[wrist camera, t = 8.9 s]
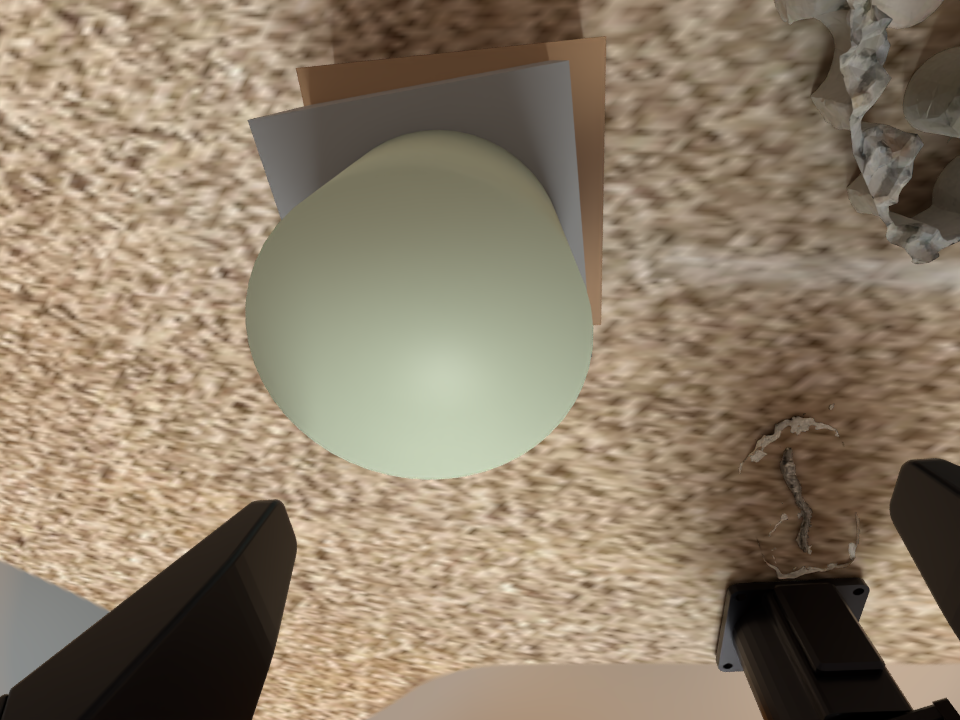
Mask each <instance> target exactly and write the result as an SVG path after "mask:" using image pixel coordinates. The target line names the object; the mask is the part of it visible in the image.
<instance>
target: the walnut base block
mask: <svg viewBox="0 0 960 720" xmlns="http://www.w3.org/2000/svg"><path fill="white" fill-rule="evenodd" d="M549 60H569V66H570V79H571V92H572V105H573V117H574V130H575V143H576V156H577V169H578V182H579V195H580V208H581V221H582V234H583V246H584V259H585V272H586V285H587V294H588V298H589V302H590V305H591V312H592V321H593V325H601V297H602V240H603V184H604V127H605V71H606V36H603V37H593V38H584V39H574V40H564V41H555V42H545V43H535V44H525V45H516V46H506V47H496V48H487V49H477V50H467V51H458V52H448V53H438V54H428V55H419V56H409V57H399V58H390V59H380V60H370V61H361V62H351V63H341V64H331V65H322V66H312V67H302V68H296V71H297V76H298V80H299V85H300V89H301V94H302V98H303V103H304V106H308V105H313V104H318V103H323V102H329V101H334V100H340V99H345V98H350V97H356V96H361V95H366V94H372V93H377V92H382V91H388V90H393V89H398V88H404V87H409V86H415V85H420V84H425V83H431V82H436V81H441V80H447V79H452V78H457V77H463V76H468V75H474V74H479V73H484V72H490V71H495V70H500V69H506V68H511V67H516V66H522V65H527V64H532V63H538V62H543V61H549Z"/></svg>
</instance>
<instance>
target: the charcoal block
mask: <svg viewBox="0 0 960 720" xmlns="http://www.w3.org/2000/svg"><path fill="white" fill-rule="evenodd" d="M248 122H249V125H250V128H251V131H252V134H253V137H254V140H255V143H256V146H257V149H258V152H259V155H260V158H261V161H262V164H263V167H264V170H265V173H266V176H267V179H268V182H269V185H270V188H271V190H272V193H273V196H274V199H275V202H276V205H277V208H278V211H279V214H280V217H281V220H282V219H283V218H284V217H285V216H286V215H287V214H288V213H289V212H290V211H291V210H292V209H293V208H294V207H295V206H297V205H298V204H299V203H301V202H302V201H303V200H305V199H306V198H307V197H309V196H310V195H311V194H313V193H314V192H315V191H317V190H318V189H319V188H321V187H322V186H323V185H325V184H326V183H327V182H329V181H330V180H331V179H333V178H334V177H335V176H337V175H338V174H339V173H341V172H342V171H344V170H345V169H346V168H348V167H349V166H350V165H352V164H353V163H354V162H356V161H357V160H358V159H360V158H361V157H362V156H364V155H365V154H366V153H368V152H369V151H371V150H372V149H373V148H375V147H377V146H379V145H380V144H382V143H384V142H386V141H388V140H390V139H393V138H396V137H399V136H401V135H404V134H409V133H413V132H418V131H427V130H448V131H458V132H462V133H467V134H471V135H475V136H477V137H480V138H483V139H486V140H488V141H490V142H492V143H494V144H496V145H498V146H500V147H502V148H504V149H505V150H507V151H508V152H509V153H511V154H512V155H513V156H515V157H516V158H518V159H519V160H520V161H521V162H522V163H523V164H524V165H525V166H526V167H527V168H528V169H529V170H530V171H531V172H532V173H533V174H534V176H535V177H536V178H537V179H538V181H539V182H540V183H541V184H542V186H543V188H544V189H545V191H546V193H547V194H548V196H549V198H550V200H551V202H552V205H553V207H554V209H555V212H556V214H557V217H558V219H559V222H560V224H561V227H562V229H563V232H564V234H565V237H566V239H567V241H568V244H569V246H570V249H571V251H572V254H573V256H574V259H575V261H576V264H577V266H578V269H579V271H580V274H581V276H582V279H583V281H584V284H585V286H586V290H587V285H586V272H585V259H584V246H583V234H582V221H581V208H580V195H579V182H578V169H577V156H576V143H575V130H574V117H573V105H572V92H571V79H570V66H569V60H549V61H543V62H538V63H532V64H527V65H522V66H516V67H511V68H506V69H500V70H495V71H490V72H484V73H479V74H474V75H468V76H463V77H457V78H452V79H447V80H441V81H436V82H431V83H425V84H420V85H415V86H409V87H404V88H398V89H393V90H388V91H382V92H377V93H372V94H366V95H361V96H356V97H350V98H345V99H340V100H334V101H329V102H323V103H318V104H313V105H308V106H304V107H300V108H296V109H292V110H287V111H283V112H279V113H275V114H271V115H267V116H263V117H259V118H254V119H250V120H248ZM591 357H592V354H591Z"/></svg>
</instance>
